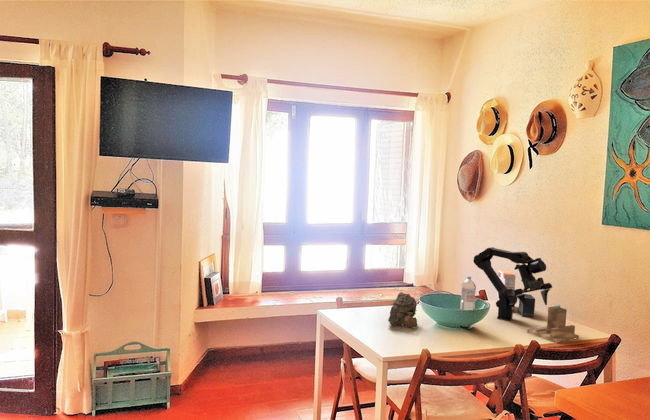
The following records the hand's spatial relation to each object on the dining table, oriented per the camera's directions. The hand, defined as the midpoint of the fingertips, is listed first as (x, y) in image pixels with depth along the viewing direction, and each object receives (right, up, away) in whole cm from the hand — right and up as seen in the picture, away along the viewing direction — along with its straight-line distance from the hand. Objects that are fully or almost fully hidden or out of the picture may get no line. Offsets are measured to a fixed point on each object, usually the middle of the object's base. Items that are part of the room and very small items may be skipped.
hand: (537, 306), depth 227 cm
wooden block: (+4, -10, -11) cm, 16 cm away
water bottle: (-35, -10, -1) cm, 37 cm away
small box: (+6, -10, +25) cm, 28 cm away
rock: (-67, -9, -1) cm, 67 cm away
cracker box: (-1, -9, +39) cm, 40 cm away
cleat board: (+3, -12, -10) cm, 15 cm away
